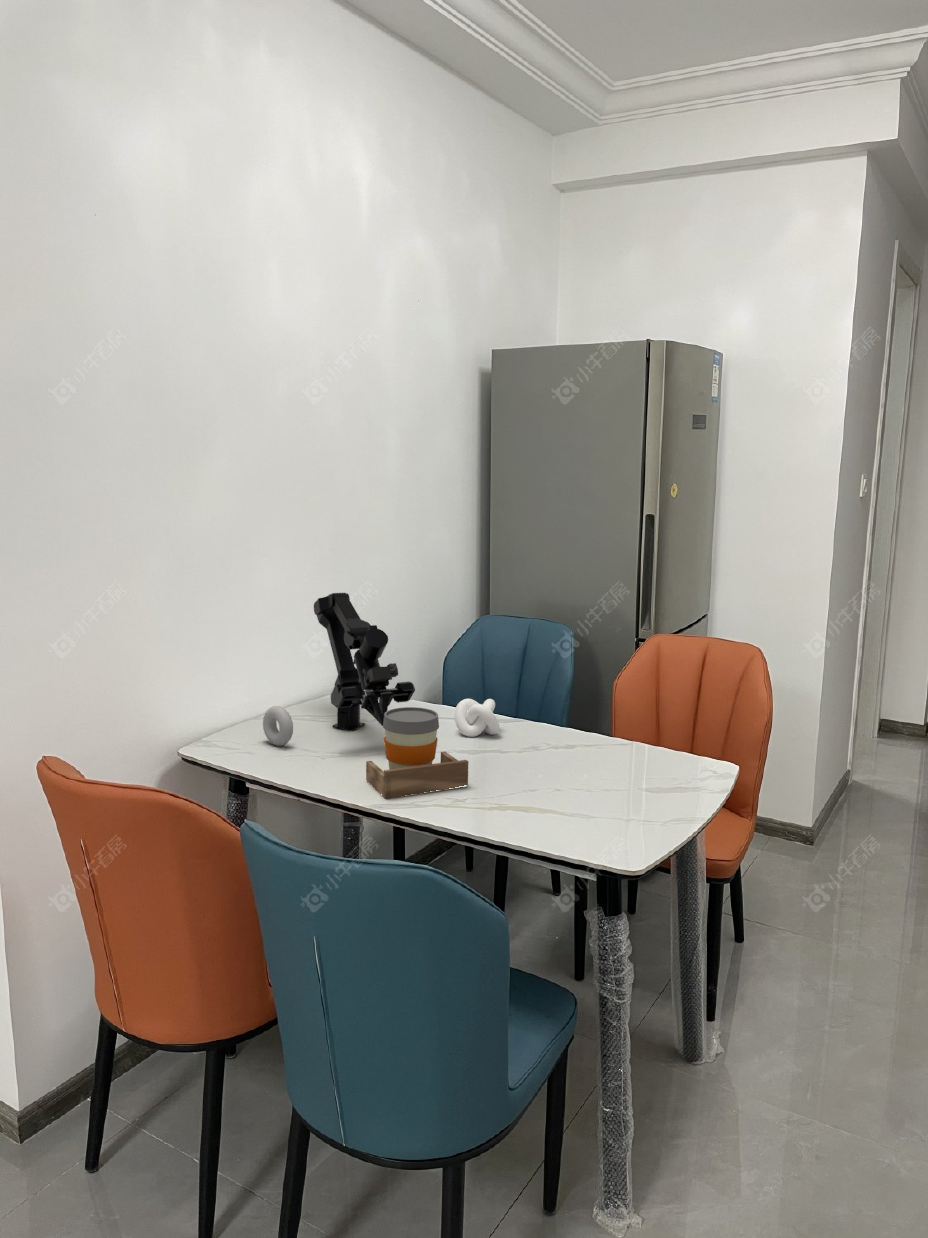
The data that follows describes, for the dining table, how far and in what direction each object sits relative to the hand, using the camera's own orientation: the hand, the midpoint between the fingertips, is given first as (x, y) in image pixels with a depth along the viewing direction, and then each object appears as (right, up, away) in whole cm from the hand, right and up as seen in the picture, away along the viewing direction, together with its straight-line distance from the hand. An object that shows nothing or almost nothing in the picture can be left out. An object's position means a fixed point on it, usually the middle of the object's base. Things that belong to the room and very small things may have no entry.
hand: (384, 725), depth 226 cm
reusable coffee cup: (+7, -11, -13) cm, 18 cm away
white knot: (+22, -5, +22) cm, 31 cm away
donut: (-27, -6, +8) cm, 29 cm away
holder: (+9, -11, -17) cm, 22 cm away
